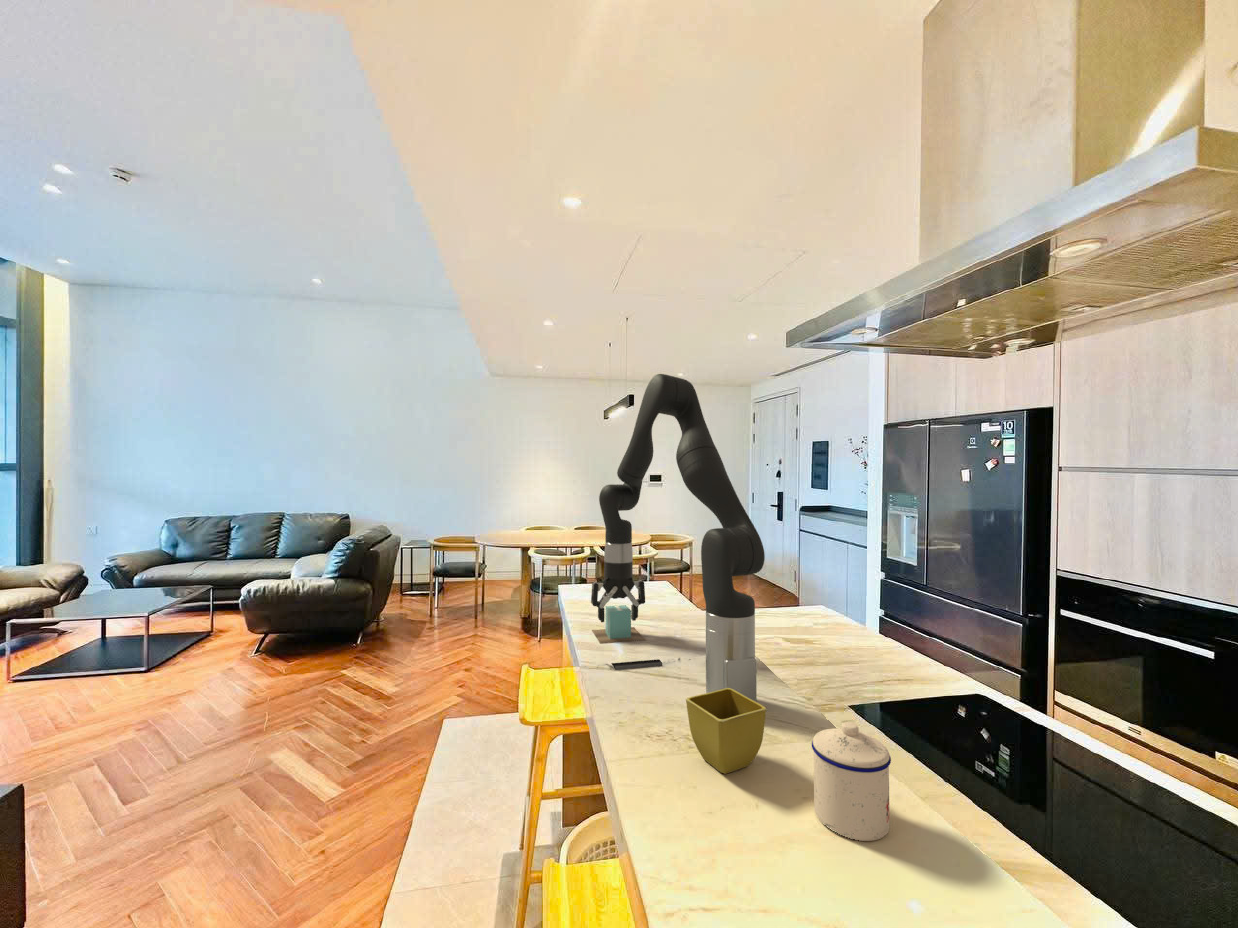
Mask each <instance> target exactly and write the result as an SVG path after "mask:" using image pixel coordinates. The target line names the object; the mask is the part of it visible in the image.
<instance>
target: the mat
mask: <svg viewBox="0 0 1238 928" xmlns="http://www.w3.org/2000/svg"><path fill="white" fill-rule="evenodd" d="M610 664H611V666H612V667H613V669H614V671H623V670H635V669H644V668H645V669H647V668H657V667H659V668H660V667H663V662H662V660H661V659H658V658H657V659H647V660H635V661H622V662H611V663H610Z"/></svg>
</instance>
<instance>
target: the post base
mask: <svg viewBox="0 0 1238 928" xmlns="http://www.w3.org/2000/svg"><path fill="white" fill-rule="evenodd" d="M591 632H592V633H593V635H594V636H595V638H596V639H597V641H598V642H599V644H600V645H601V644H602V645H603V644H604V645H605V644H614V643H615V644H616V643H630V642H631V643H632V642H644V641H647V639H646V638H645V637H644V636H643V635H642V634H641V633H640V632H639V631H638V629H636V628H635V626H633V627H632V626H631V637H629V638H615V639H610V638H609V637H608V635H607V634H606V633H605V628H603V629H591Z"/></svg>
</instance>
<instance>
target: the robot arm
mask: <svg viewBox="0 0 1238 928" xmlns="http://www.w3.org/2000/svg"><path fill="white" fill-rule="evenodd" d="M659 414H661V415H666V416H671V417H673V418H675V420H676V421H677V423H678V424H679V427H680V431H681V438H680V440H679V442H678V446H677V449H676V453H675V460H676V464H677V467H678V469H679V473H680V475H681V477H682V480H683V483H684V485H685V487H686V488H687V490H688V491H689V492H690V493H691V494H692V495H693V496H695V498H696V499H697V500H699V502H701V503H702V504H703V505H704V506H706V508H708V509H709V510H710V511H711V512H712V513H713V515H714V516H716V518H717V520H718V521H719V523H720V525H721V528H720V527H719V528H711V529H709V530H707V531H706V532H705V533H704V535H703V537H702V540H701V549H700V556H701V557H700V559H701V560H700V561H701V578H702V579H701V580H702V593H703V597H704V598H703V599H704V602H705V694H706V693H710V692H713V691H717V690H721V689H725V688H731V689H733V690H735V691H737V692H739V693H740V694H742V695H744V696H746V697H748V698H749V699H751V700H753V701H755V702H757V703H758V701H757V690H758V689H757V688H758V687H757V684H758V683H757V659H756V603H755V599H754V598H753V597H752V596H751V595H749V594H745V593H743V592H740V591H739V592H738V590H736V589H735V588H734V581H733V577H741V576H750V575H755V574H757V573H759V572H761V570H762V569H763V567H764V565H765V558H766V557H765V549H764V545H763V542H762V539H761V537H760V535H759V533H758V531H757V529H756V526H755V525H754V523H753V522H752V520H751V518H750V517H749V515H748V513H747V511H746V510H745V508H744V506H743V503H742V502H741V501H740V499H739V497H738V495H737V491H736V490H735V488H734V485H733V484H732V482H731V480H730V478H729V475H728V473H727V471H726V467H725V465H724V462H723V460H722V458H721V455H720V453H719V450H718V449H717V447H716V445H715V443H714V441H713V438H712V435H711V433H710V430H709V428H708V425H707V423H706V421H705V418H704V415H703V412H702V408H701V403H700V401H699V398H698V393H697V391H696V389H695V387H694V385H693V384H692V382H690V381H689V380H687V379H685V378H681V377H677V376H673V375H669V374H666V373H665V374H664V373H657V374H655V375H654V376H653V377H651V379H650V380H649V382H648V384H647V386H646V388H645V391H644V393H643V397H642V400H641V403H640V407H639V411H638V413H637V417H636V419H635V420H636V421H635V424H634V428H633V432H632V435H631V439H630V441H629V444H628V446H627V448H626V451H625V452H624V455H623V457H622V460H620V463H619V466H618V468H617V472H616V474H617V475H616V476H617V477H618V479H619V480H620V481H621V482H623V484H619V483H618V484H605V485H604V486H603V487H602V489H601V490H600V493H599V495H598V501H599V503H598V504H599V506H600V510H601V514H602V517H603V518H602V519H603V522H604V525H605V526H604V527H605V533H604V534H605V545H604V554H603V560H604V563H603V565H604V566H603V567H604V570H603V571H604V573H603V574H604V575H603V578H604V579H603V582H597V581H592V584H591V595H590V597H591V599H590V603H591V605H592V606H593V607H596V608H597V618H598V620H599V621H600V622H601V623H605V607H606V605H607V604H608V603H609V602H610V600H611V599H613V600H615V599H625V598H627V599H628V600H629V601H630V603H632V604H631V609H630V610H631V621H634V622H635V621H637V619H638V617H639V606H640V605H644V604H645V603H646V589H645V588H646V587H645V582H644V581H643V580H642V579H638V580H634V579H633V575H634V574H633V563H634V562H633V559H634V558H633V556H634V555H633V551H634V549H633V544H632V541H633V540H632V539H633V531H632V530H633V529H632V526H633V525H632V523H631V522H630V520H626V519H622V518H621V516H620V512H619V511H623V512H624V511H630V510H633V509H634V508H635V507H636V506H637V505H638V503H639V501H640V497H641V490H642V487H643V486H642V485H643V480H644V477H645V475H646V474H647V472H648V470H649V467H650V465H651V464H652V462H653V457H654V441H653V426H654V423H655V421H656V419H657V417H658V415H659ZM634 586H635V588H636V589H637V595H638V598H636V597H635V596H634V594H632V593H633V592H631V591H632V590H633V589H634ZM602 588H603V590H604V591H605V592H604V593H603V594H602V596H601V598H600V600H599V601H598V597H599V596H598V595H599V592H600V591H601V589H602Z"/></svg>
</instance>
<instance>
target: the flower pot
mask: <svg viewBox="0 0 1238 928" xmlns="http://www.w3.org/2000/svg"><path fill="white" fill-rule="evenodd" d="M685 703H686V711H687V717H688V724H689V730H690V734H691V737H692V740H693V743H694V745H695V747H696V750H698V753H699V754H700V756H701V758H702V759H703V760H704V761H705V762H707V763H708V764H709V765H710V766H711V767H713V768H714V769H716V770H717V771H718V772H719V771H720V772H719V773H721V774H722V773H724V775H726V774H729V773H732V772H734V771H738V770H741V769H744V768H746V767H749V766H750V765H751V764H752V762H753V761H754V760H755V758H756V756H757V755H758V754H759V753H758V752H759V751H760V748H761V746H762V744H763V739H764V732H765V723H766V717H767V716H766V715H767V708H766V707H765V706H764V705H763V704H761V703H759V702H758V701H757V702H755V701H753V700H751V699H749V698H748V697H746V696H744V695H742V694H740V693H739V692H737V691H735V690H733V689H731V688H725V689H721V690H717V691H713V692H710V693H706V692H705V693H702V694H697V695H693V696H689V697H686V698H685Z"/></svg>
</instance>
